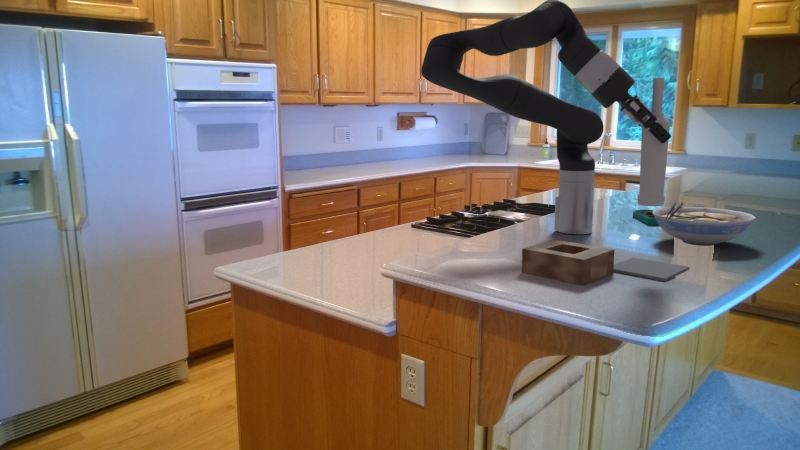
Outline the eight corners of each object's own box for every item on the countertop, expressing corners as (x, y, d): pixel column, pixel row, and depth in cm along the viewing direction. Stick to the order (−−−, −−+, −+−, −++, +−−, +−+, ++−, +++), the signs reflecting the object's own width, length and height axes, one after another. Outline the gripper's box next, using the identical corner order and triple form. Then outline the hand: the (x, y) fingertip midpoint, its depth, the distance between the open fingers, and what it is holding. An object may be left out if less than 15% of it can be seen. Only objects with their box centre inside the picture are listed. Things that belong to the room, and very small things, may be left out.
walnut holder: (521, 272, 121) (522, 248, 120) (553, 261, 129) (554, 239, 128) (583, 285, 111) (584, 259, 110) (613, 273, 119) (614, 249, 118)
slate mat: (606, 270, 121) (606, 267, 121) (632, 260, 129) (633, 257, 129) (664, 281, 112) (665, 278, 112) (689, 269, 120) (689, 266, 120)
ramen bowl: (751, 258, 129) (755, 222, 127) (641, 248, 140) (643, 214, 139) (754, 238, 149) (757, 206, 148) (658, 230, 161) (660, 201, 160)
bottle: (667, 206, 115) (676, 77, 111) (639, 206, 116) (647, 77, 112) (661, 202, 120) (669, 78, 116) (634, 202, 121) (642, 79, 117)
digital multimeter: (655, 218, 182) (656, 209, 182) (674, 227, 168) (674, 216, 167) (631, 218, 183) (632, 209, 182) (647, 227, 168) (648, 217, 168)
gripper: (589, 94, 124) (645, 150, 123) (590, 92, 111) (654, 155, 110) (616, 67, 122) (674, 125, 121) (621, 62, 108) (687, 126, 107)
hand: (664, 139), depth 115 cm, fingers closed on bottle, 5 cm apart
